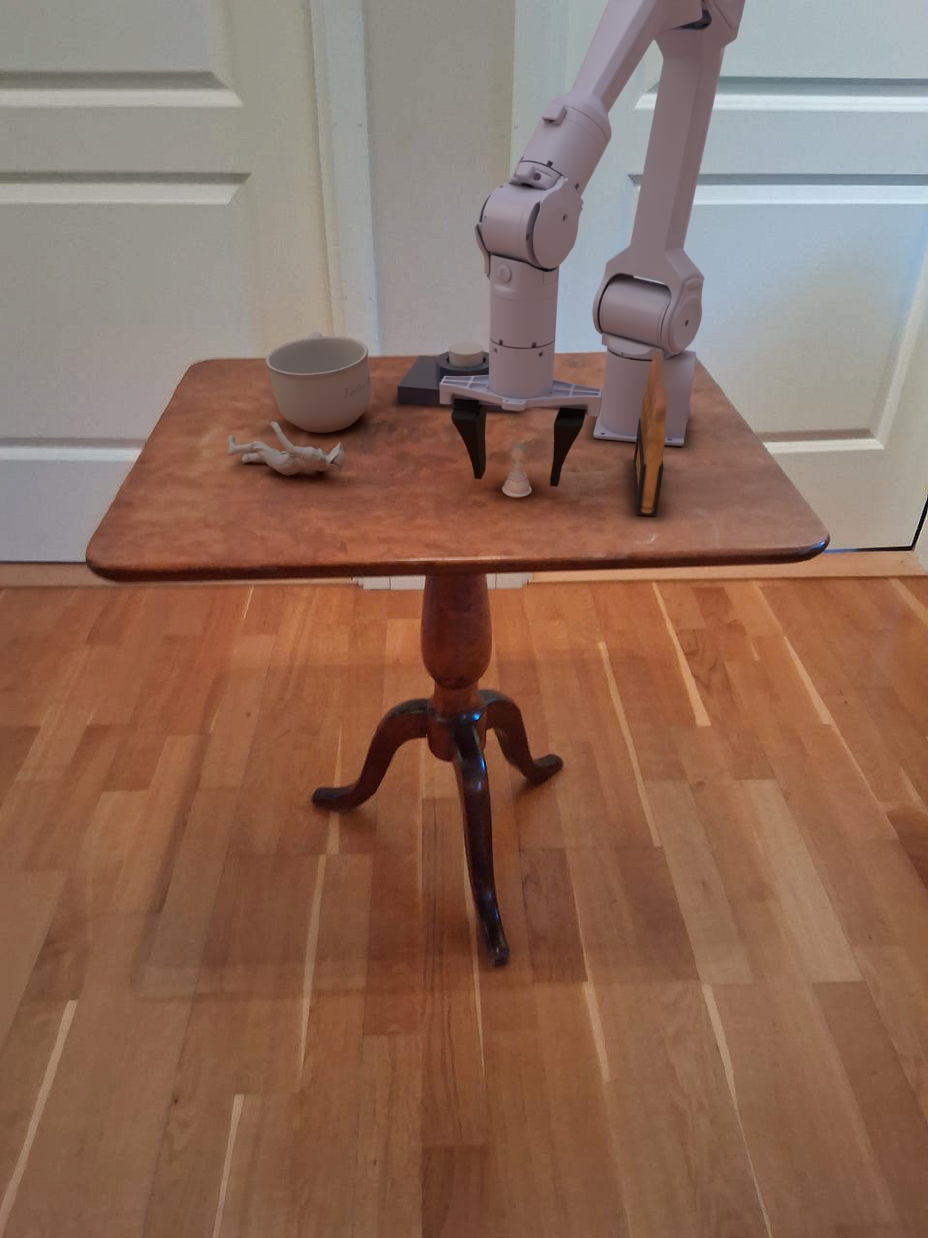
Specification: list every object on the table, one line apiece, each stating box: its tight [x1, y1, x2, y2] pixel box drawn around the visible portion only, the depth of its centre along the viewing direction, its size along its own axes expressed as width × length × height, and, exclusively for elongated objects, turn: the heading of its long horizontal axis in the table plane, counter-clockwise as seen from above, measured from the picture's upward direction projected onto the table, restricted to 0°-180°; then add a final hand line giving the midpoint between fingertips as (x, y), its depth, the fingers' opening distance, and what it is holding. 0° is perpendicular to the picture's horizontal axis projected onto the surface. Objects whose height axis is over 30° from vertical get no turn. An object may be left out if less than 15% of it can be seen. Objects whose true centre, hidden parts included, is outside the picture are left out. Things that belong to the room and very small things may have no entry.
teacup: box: [265, 331, 372, 434], centre depth 98 cm, size 14×11×8 cm
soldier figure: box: [227, 421, 346, 476], centre depth 88 cm, size 8×5×12 cm
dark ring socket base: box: [396, 350, 519, 415], centre depth 105 cm, size 14×10×4 cm
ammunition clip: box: [632, 352, 667, 517], centre depth 83 cm, size 11×2×12 cm, turn 173°
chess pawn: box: [501, 441, 533, 498], centre depth 85 cm, size 3×3×5 cm
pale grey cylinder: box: [448, 341, 485, 367], centre depth 104 cm, size 4×4×2 cm
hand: (517, 478), depth 86 cm, fingers open, 7 cm apart
